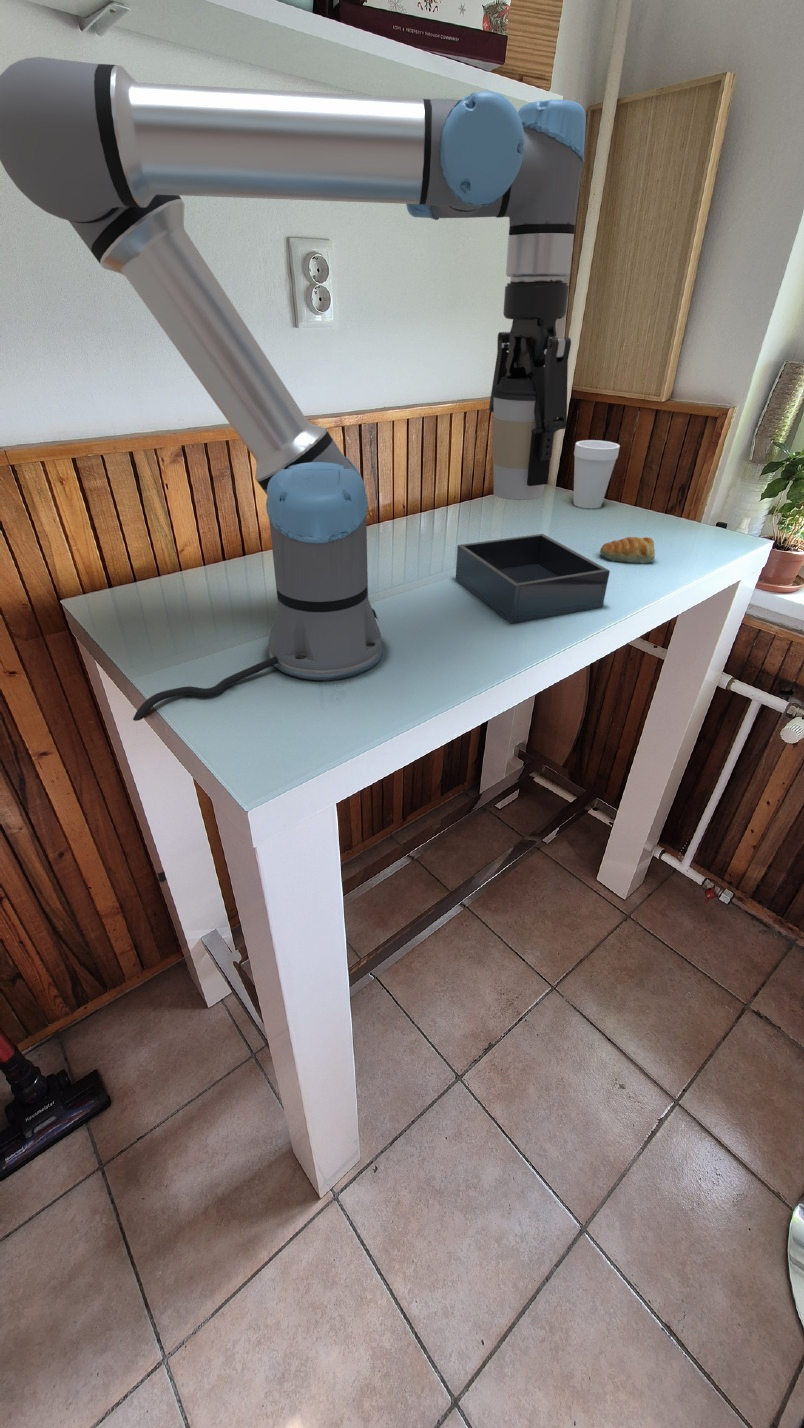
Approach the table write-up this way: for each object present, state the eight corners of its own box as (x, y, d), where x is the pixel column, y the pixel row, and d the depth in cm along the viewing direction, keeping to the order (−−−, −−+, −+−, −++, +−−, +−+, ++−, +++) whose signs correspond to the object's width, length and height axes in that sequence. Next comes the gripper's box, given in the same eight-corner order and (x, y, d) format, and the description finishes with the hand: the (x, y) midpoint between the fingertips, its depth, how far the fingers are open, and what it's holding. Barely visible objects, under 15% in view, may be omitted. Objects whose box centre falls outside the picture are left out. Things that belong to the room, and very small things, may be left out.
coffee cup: (549, 504, 86) (564, 378, 78) (482, 500, 88) (489, 377, 80) (552, 486, 94) (565, 370, 85) (489, 483, 95) (497, 369, 87)
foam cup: (567, 508, 145) (576, 447, 138) (565, 497, 153) (574, 439, 146) (610, 511, 144) (622, 449, 137) (606, 500, 152) (617, 441, 145)
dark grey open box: (511, 623, 96) (515, 585, 92) (455, 579, 110) (457, 544, 107) (602, 607, 101) (610, 570, 98) (538, 566, 115) (542, 533, 112)
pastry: (604, 564, 117) (608, 543, 115) (594, 551, 122) (598, 531, 120) (656, 564, 117) (660, 543, 115) (643, 551, 123) (647, 531, 121)
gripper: (618, 278, 70) (587, 492, 82) (520, 280, 86) (506, 457, 99) (559, 279, 67) (536, 499, 80) (469, 280, 84) (462, 462, 97)
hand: (519, 476), depth 89 cm, fingers closed on coffee cup, 9 cm apart
